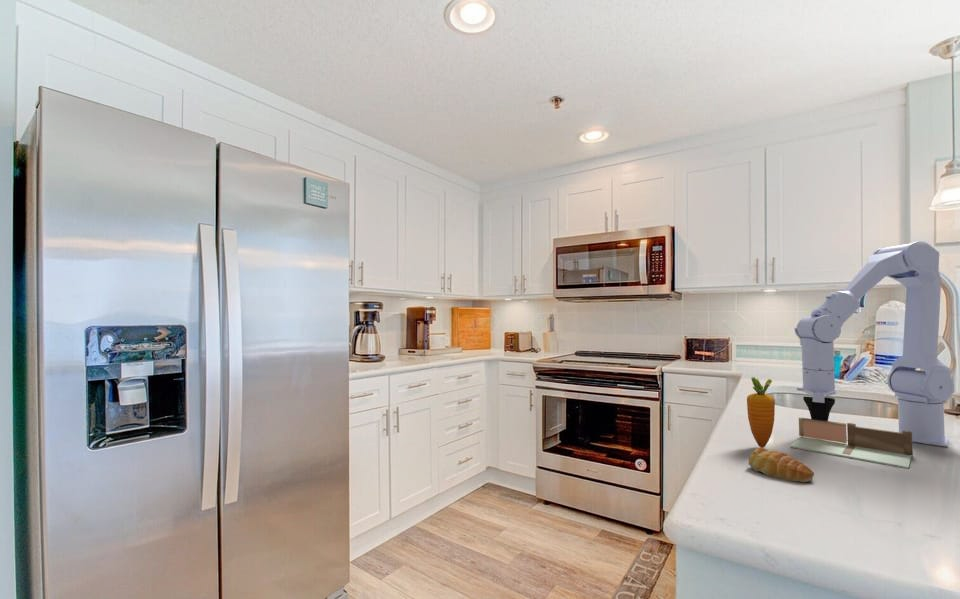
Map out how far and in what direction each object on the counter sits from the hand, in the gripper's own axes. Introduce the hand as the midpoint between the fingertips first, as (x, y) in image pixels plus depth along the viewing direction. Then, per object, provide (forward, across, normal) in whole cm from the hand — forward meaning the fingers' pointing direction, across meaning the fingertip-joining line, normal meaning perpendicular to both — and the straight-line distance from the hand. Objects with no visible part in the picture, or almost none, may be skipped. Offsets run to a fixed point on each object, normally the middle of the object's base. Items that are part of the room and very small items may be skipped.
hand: (819, 429), depth 98 cm
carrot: (+2, +15, -10) cm, 18 cm away
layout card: (+2, +5, +5) cm, 7 cm away
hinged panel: (+2, +2, 0) cm, 2 cm away
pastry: (+3, +30, -6) cm, 30 cm away
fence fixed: (+2, +3, +10) cm, 10 cm away
